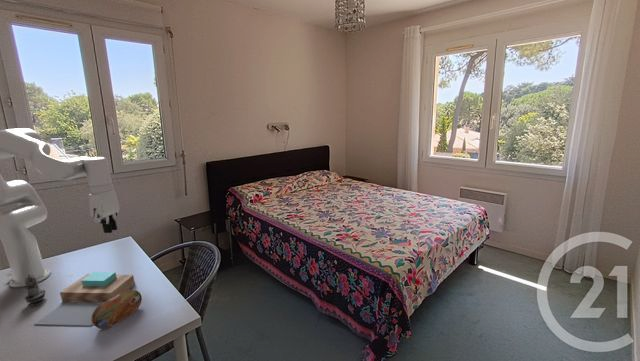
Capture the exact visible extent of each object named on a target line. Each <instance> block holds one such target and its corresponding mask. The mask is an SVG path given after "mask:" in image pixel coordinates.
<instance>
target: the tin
mask: <svg viewBox="0 0 640 361" xmlns="http://www.w3.org/2000/svg"><path fill="white" fill-rule="evenodd" d="M142 297H143V296H142V294H141V292H140V291H138V290H136V289H128V290H125V291H123V292H121V293H120V294H118V295H116V296H114V297H113V298H111V299H109V300H107V301H105V302H101V303H102V304H100V305H99V306H98V307H97V308H96V309H95V310H94V312H93V314H92V323H93V325H92V326H94V327H96V328H98V329H99V330H107V329H110V328H112V327H114V326H115V325H117V324H118V323H120V322H122V321H123V320H125V319H126V318H127V317H129V316H131V315H132V314H134V313H135V312H137V310H138V309H139V308H140V306H141V304H142Z"/></svg>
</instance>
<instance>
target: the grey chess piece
mask: <svg viewBox="0 0 640 361" xmlns="http://www.w3.org/2000/svg"><path fill="white" fill-rule="evenodd" d="M25 283H26V286H24V287H25V289H26V290H27V294H26V295H25V296H24V297H23V300H25V301H26V303H28V304H27V308H30V309H32V308H36V307H40V306H41V305H43V304H45V303H46V302H47V301H48V300H47V298H46V297H45V295H46V290H44V289H40V287H39V284H40V282H37V281H36V278H35V276H30V275H28V277H27V278H26V279H25Z"/></svg>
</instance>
